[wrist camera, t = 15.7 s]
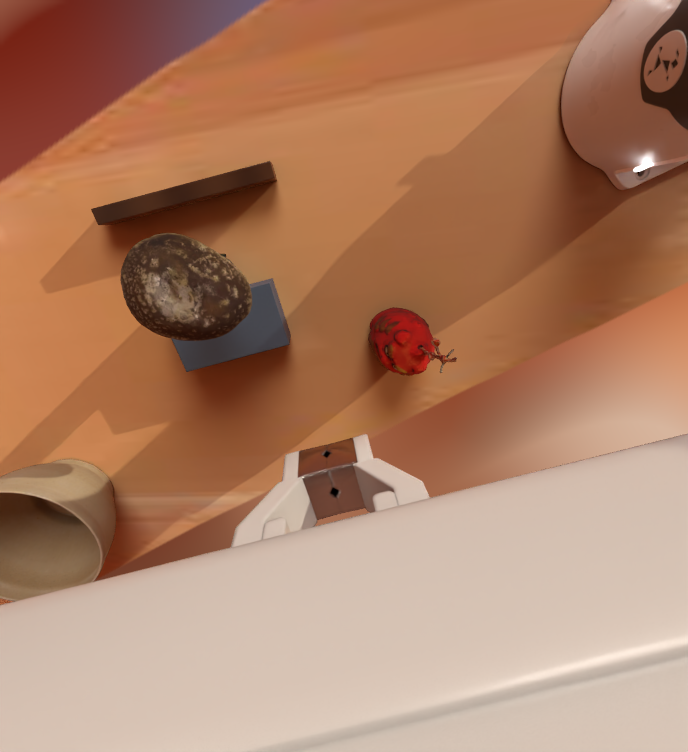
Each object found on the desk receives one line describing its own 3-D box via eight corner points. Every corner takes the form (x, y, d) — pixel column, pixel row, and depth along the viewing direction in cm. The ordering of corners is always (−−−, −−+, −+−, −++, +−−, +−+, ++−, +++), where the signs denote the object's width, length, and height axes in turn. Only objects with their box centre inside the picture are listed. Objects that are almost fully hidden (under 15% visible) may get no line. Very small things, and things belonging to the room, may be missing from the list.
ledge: (272, 164, 39) (270, 160, 37) (277, 180, 39) (275, 178, 37) (103, 209, 39) (90, 209, 37) (110, 225, 40) (98, 225, 37)
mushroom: (159, 265, 42) (83, 287, 28) (214, 209, 40) (163, 203, 26) (224, 328, 45) (184, 376, 31) (277, 279, 43) (261, 306, 29)
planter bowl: (109, 549, 56) (65, 622, 46) (-8, 500, 51) (-86, 569, 41) (162, 474, 52) (127, 535, 42) (41, 413, 47) (-32, 466, 37)
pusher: (272, 278, 43) (269, 282, 40) (290, 335, 46) (289, 344, 43) (171, 305, 43) (159, 312, 40) (195, 361, 46) (186, 371, 43)
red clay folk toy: (354, 324, 46) (373, 369, 32) (403, 290, 45) (445, 321, 31) (388, 371, 49) (419, 432, 35) (435, 340, 47) (486, 389, 34)
